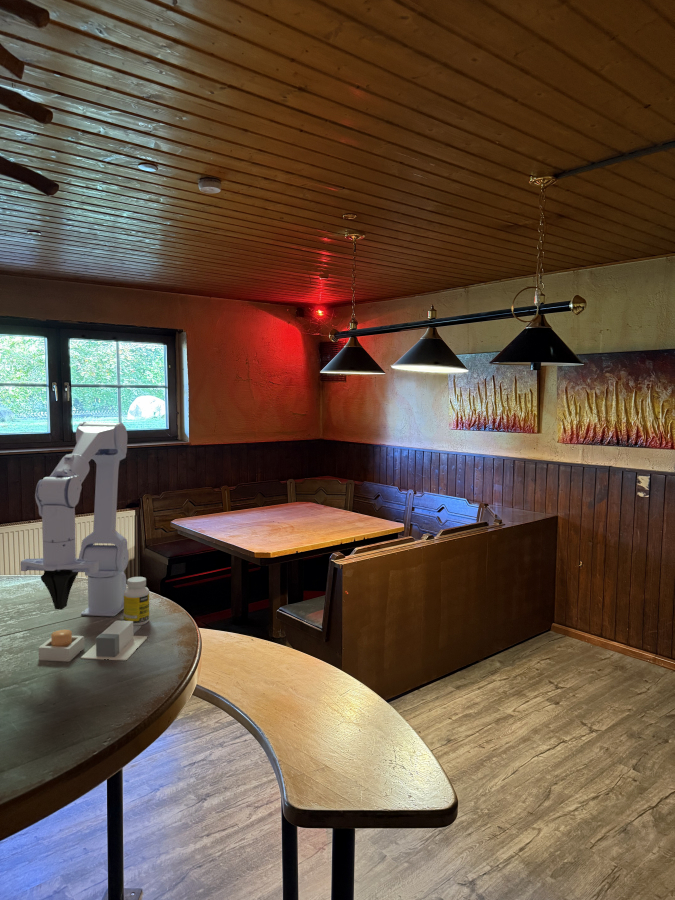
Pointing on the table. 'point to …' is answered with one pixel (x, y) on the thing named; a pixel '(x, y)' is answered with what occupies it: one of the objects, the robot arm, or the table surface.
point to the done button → (61, 638)
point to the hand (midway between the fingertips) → (60, 607)
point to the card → (135, 628)
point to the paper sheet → (122, 655)
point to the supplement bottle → (136, 601)
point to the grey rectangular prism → (114, 638)
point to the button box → (61, 650)
